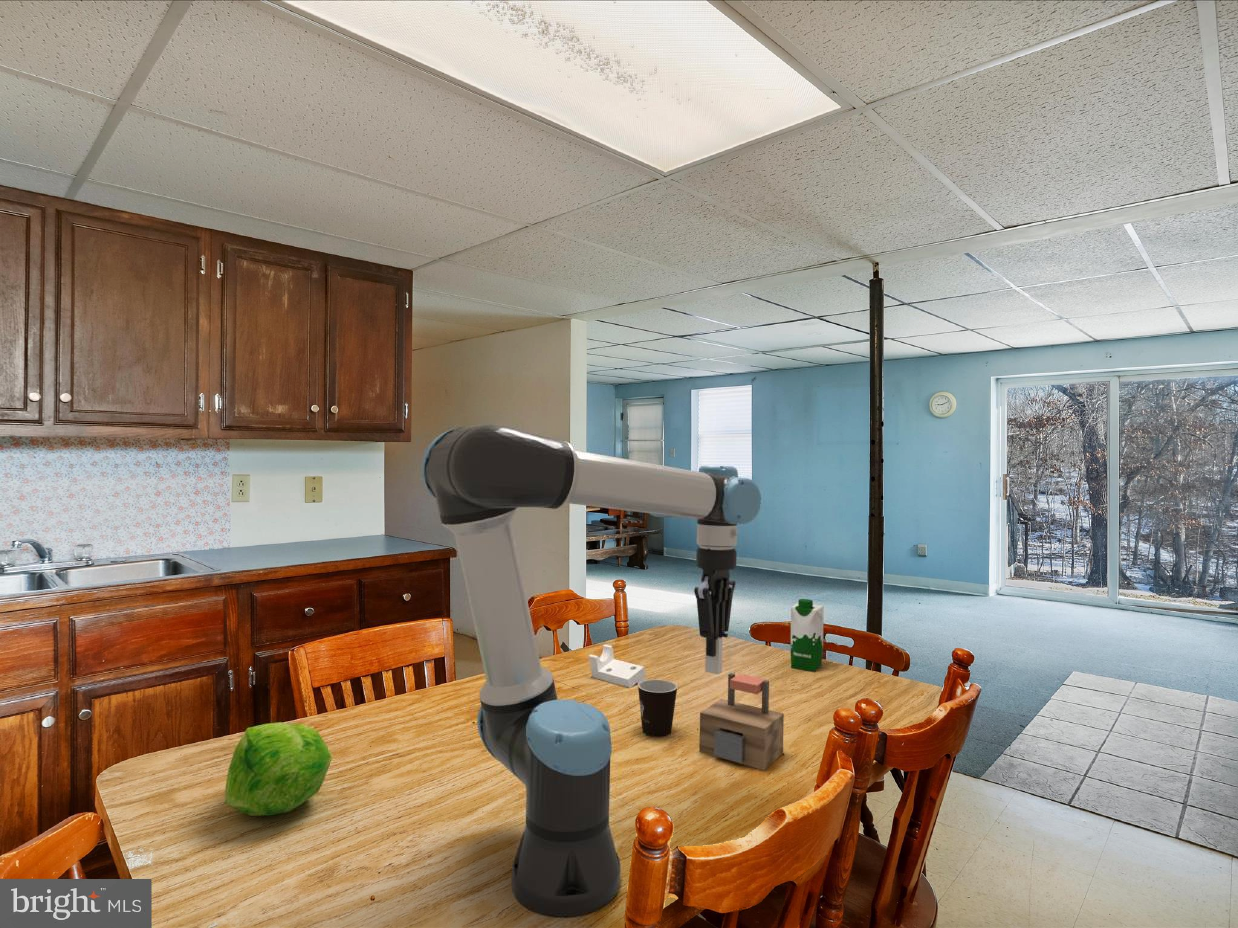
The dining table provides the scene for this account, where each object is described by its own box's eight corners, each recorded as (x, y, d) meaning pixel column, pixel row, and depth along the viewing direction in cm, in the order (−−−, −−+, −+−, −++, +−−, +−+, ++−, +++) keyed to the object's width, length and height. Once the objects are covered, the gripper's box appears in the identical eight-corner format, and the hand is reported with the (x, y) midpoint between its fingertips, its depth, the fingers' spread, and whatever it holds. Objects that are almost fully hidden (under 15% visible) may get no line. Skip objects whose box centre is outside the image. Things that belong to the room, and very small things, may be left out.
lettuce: (296, 773, 124) (319, 702, 124) (322, 838, 108) (349, 757, 108) (207, 775, 115) (233, 699, 115) (222, 846, 99) (252, 758, 99)
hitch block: (763, 770, 128) (765, 695, 128) (699, 751, 136) (700, 680, 136) (783, 752, 136) (784, 681, 136) (720, 735, 144) (722, 668, 144)
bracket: (592, 680, 183) (588, 655, 181) (609, 668, 188) (605, 644, 186) (630, 691, 174) (626, 665, 173) (645, 678, 180) (641, 653, 178)
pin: (741, 763, 129) (742, 738, 129) (714, 754, 132) (714, 730, 132) (771, 737, 142) (772, 715, 142) (745, 730, 145) (745, 708, 145)
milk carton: (787, 668, 194) (788, 599, 194) (796, 660, 202) (797, 594, 202) (817, 673, 189) (818, 603, 189) (825, 665, 197) (826, 598, 197)
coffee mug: (673, 740, 141) (674, 693, 141) (634, 736, 143) (634, 690, 143) (680, 720, 152) (680, 677, 152) (642, 717, 154) (643, 673, 154)
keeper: (757, 694, 135) (757, 685, 135) (729, 688, 138) (730, 679, 138) (766, 687, 139) (766, 679, 139) (739, 682, 142) (740, 673, 142)
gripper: (719, 551, 118) (715, 684, 118) (749, 546, 129) (746, 667, 128) (682, 548, 122) (678, 676, 122) (714, 542, 133) (711, 660, 133)
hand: (713, 671), depth 125 cm, fingers closed
